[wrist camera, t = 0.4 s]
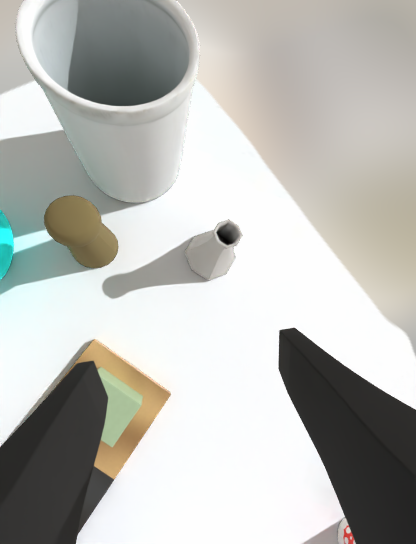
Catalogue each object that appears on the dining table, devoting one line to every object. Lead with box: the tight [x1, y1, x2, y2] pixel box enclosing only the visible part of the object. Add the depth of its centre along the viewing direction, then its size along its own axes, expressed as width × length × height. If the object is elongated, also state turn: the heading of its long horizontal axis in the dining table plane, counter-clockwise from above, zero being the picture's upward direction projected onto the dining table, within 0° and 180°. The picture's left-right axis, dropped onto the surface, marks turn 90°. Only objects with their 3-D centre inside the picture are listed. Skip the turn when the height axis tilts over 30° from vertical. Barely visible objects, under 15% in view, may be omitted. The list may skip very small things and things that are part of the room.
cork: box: [44, 195, 118, 268], centre depth 30 cm, size 6×6×11 cm
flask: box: [185, 219, 242, 281], centre depth 33 cm, size 7×7×10 cm
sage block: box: [98, 367, 143, 447], centre depth 30 cm, size 5×6×4 cm
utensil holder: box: [16, 0, 200, 203], centre depth 30 cm, size 15×15×18 cm
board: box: [54, 339, 171, 535], centre depth 30 cm, size 20×12×1 cm, turn 145°
